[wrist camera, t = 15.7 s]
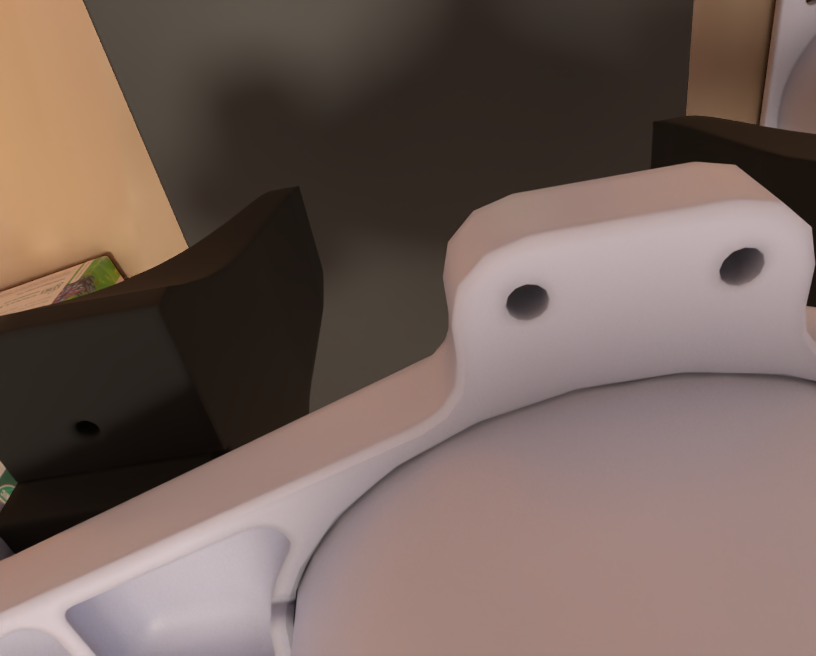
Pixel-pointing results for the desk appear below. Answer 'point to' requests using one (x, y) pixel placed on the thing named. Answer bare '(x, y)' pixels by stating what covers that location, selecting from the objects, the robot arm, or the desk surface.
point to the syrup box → (50, 292)
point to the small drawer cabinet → (389, 130)
